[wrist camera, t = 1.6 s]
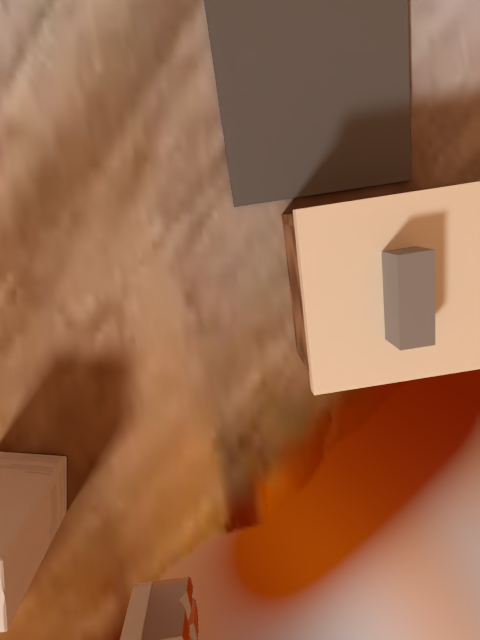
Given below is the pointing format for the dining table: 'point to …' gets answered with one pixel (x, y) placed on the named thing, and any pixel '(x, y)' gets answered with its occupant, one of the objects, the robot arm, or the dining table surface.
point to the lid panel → (360, 289)
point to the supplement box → (27, 521)
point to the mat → (311, 94)
